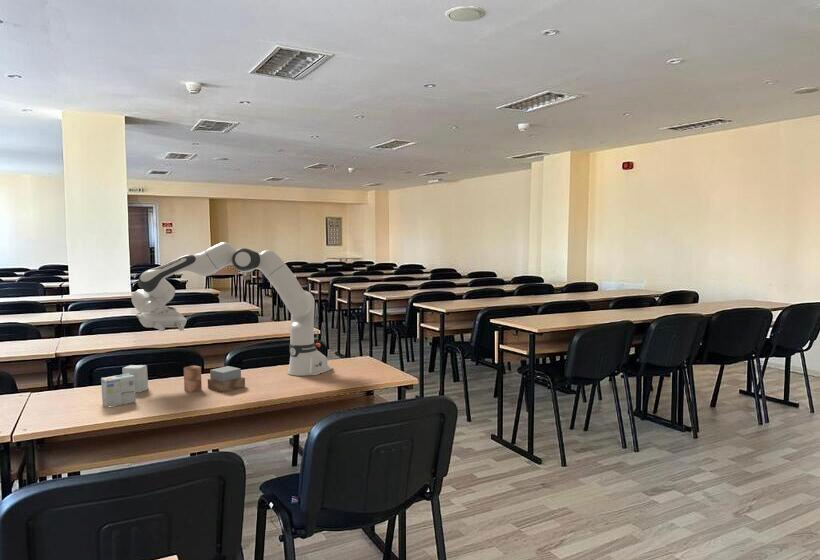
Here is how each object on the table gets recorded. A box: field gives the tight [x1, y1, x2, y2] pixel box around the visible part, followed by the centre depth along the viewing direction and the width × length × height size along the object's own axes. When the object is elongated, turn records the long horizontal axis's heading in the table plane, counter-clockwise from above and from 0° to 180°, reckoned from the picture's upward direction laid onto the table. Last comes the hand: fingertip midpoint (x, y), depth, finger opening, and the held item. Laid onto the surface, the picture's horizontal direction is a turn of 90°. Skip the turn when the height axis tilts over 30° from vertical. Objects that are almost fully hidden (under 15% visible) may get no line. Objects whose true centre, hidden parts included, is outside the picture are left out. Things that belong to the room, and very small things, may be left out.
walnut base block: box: [207, 376, 246, 393], centre depth 239 cm, size 11×11×4 cm
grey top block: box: [209, 365, 242, 382], centre depth 239 cm, size 9×9×4 cm
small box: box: [121, 364, 149, 393], centre depth 235 cm, size 8×6×10 cm
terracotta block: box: [183, 365, 203, 393], centre depth 235 cm, size 5×5×10 cm
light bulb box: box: [100, 373, 137, 408], centre depth 216 cm, size 11×7×11 cm, turn 135°
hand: (172, 329), depth 239 cm, fingers open, 8 cm apart
